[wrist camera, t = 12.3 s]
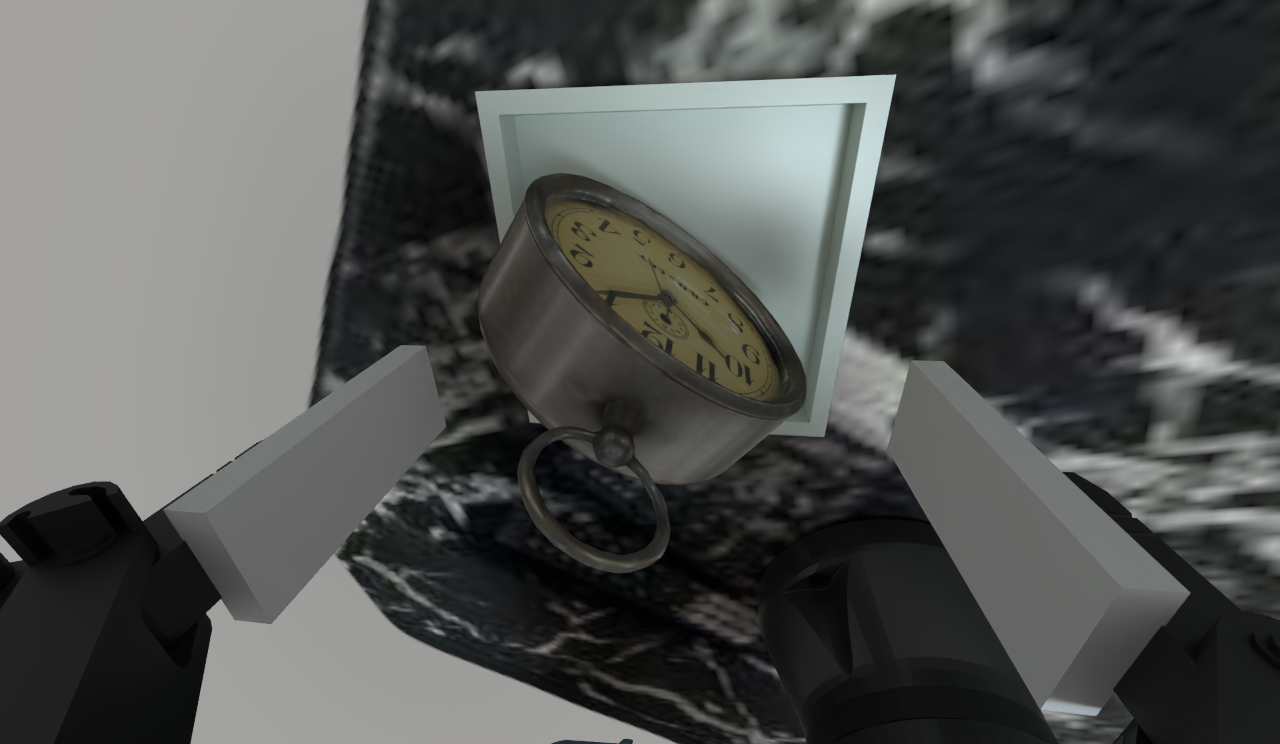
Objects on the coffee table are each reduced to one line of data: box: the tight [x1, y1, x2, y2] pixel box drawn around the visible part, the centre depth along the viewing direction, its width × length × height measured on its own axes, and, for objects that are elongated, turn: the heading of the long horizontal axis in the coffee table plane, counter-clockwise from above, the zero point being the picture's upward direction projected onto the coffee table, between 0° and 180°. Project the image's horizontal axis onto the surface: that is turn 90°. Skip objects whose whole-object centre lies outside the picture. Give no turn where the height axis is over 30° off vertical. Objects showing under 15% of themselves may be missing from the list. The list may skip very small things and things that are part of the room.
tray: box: [475, 75, 896, 437], centre depth 21 cm, size 15×15×2 cm
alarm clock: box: [478, 173, 807, 573], centre depth 15 cm, size 11×5×16 cm, turn 54°
